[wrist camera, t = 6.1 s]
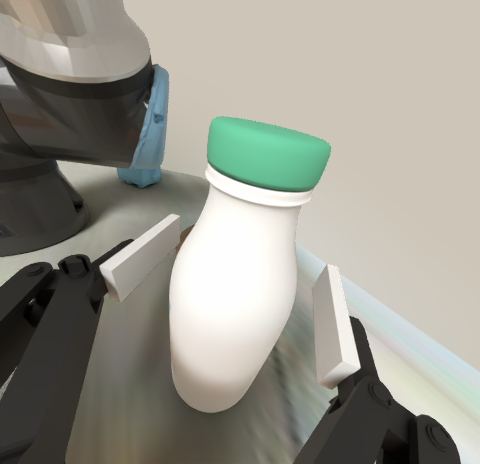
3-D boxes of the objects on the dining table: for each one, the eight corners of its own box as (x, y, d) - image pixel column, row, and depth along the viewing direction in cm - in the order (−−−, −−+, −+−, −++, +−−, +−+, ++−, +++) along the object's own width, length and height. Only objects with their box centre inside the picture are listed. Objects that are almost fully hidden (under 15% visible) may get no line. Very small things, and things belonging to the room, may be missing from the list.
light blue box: (108, 178, 46) (100, 145, 42) (128, 172, 51) (123, 142, 47) (149, 192, 44) (146, 159, 40) (166, 184, 49) (164, 154, 44)
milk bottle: (269, 366, 18) (406, 156, 7) (203, 445, 13) (323, 164, 2) (220, 309, 22) (262, 118, 11) (156, 353, 18) (120, 92, 6)
